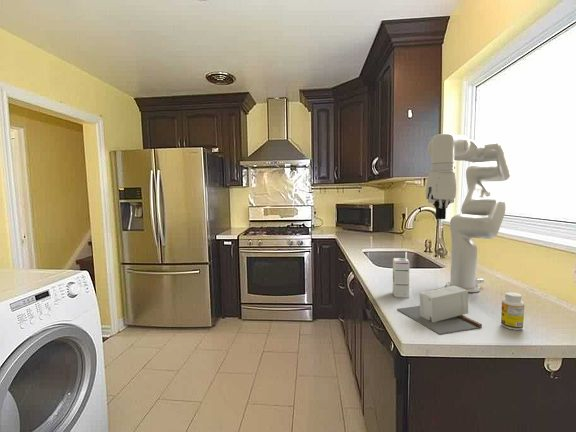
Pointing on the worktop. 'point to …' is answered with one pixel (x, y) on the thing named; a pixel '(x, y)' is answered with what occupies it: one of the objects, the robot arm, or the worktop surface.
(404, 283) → the syrup box
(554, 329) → the worktop surface
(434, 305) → the skincare box
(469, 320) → the rail
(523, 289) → the worktop surface
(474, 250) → the robot arm
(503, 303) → the supplement bottle
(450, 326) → the mat
